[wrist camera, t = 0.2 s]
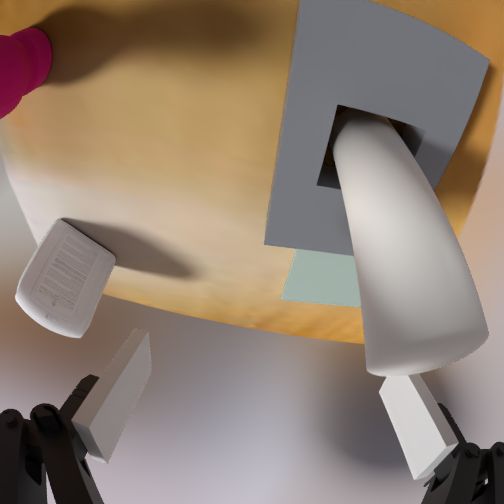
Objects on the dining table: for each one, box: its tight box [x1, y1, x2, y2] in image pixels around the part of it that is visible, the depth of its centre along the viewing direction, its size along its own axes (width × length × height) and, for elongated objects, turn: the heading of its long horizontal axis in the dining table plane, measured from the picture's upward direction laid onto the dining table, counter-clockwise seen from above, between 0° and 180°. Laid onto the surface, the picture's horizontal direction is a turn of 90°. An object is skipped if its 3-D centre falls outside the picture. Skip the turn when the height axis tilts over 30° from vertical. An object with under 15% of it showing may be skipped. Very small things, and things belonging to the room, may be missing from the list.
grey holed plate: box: [264, 0, 490, 256], centre depth 17 cm, size 20×12×3 cm, turn 176°
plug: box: [329, 108, 489, 376], centre depth 13 cm, size 5×5×16 cm
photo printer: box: [15, 219, 116, 338], centre depth 28 cm, size 10×4×12 cm, turn 45°
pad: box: [281, 249, 361, 307], centre depth 31 cm, size 12×12×1 cm
